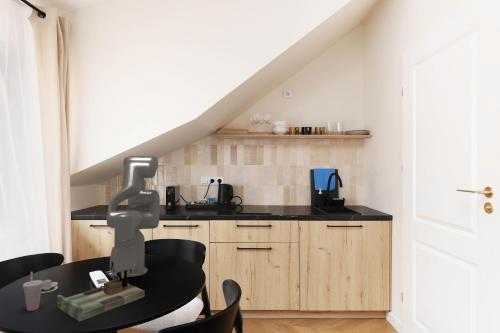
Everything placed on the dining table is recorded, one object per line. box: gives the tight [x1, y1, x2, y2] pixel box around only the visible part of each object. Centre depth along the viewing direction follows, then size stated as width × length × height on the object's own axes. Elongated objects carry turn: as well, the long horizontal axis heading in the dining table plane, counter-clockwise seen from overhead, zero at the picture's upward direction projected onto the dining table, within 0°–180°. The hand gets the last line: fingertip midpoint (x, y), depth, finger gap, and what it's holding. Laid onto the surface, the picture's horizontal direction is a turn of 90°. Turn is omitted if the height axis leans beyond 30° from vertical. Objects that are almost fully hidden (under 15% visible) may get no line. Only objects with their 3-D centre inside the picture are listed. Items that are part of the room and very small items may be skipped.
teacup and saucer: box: [41, 279, 59, 294], centre depth 135 cm, size 9×8×4 cm
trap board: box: [56, 283, 146, 323], centre depth 123 cm, size 18×26×4 cm
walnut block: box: [103, 279, 122, 296], centre depth 126 cm, size 5×5×4 cm
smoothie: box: [22, 271, 44, 312], centre depth 117 cm, size 6×6×14 cm
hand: (123, 286), depth 130 cm, fingers closed
